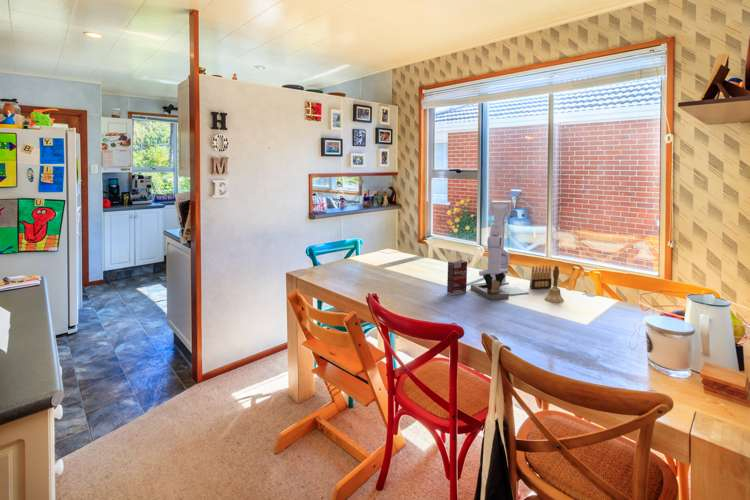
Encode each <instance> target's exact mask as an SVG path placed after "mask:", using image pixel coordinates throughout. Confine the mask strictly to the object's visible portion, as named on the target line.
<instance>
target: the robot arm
mask: <svg viewBox="0 0 750 500" xmlns="http://www.w3.org/2000/svg"><path fill="white" fill-rule="evenodd" d="M511 207H512V201H511V200H491V201H490V202H489V212H490V214H491V216H492V217H493V223H492V224H491V225H490V232H489V236H488V237H487V240H486V241H487V252H488V253H487V254H488V255H487V256H488V257H487V269H485V270H479V271H478V272H479V273H478V276H480V277H482V278H483V280H484V281H485V283H486V285H487V289H488V290H491V283H492V280H497V281H500V287H501V286H502V285H507V284H510V282H509V281H506V280H507V274H509V273H510V269H508V268H507V267H508V266H509V265H510V252H509V250H508V249H506V248H505V233H506V218H507V217H509V216H510V215H511Z"/></svg>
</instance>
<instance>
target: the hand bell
mask: <svg viewBox="0 0 750 500" xmlns="http://www.w3.org/2000/svg"><path fill="white" fill-rule="evenodd" d="M552 277H553V284H552V285H553V286H551V288H550V289H549V290H548V294H547V295H546V296H545V297H543V298H544V300H545V301H546V302H549V303H556V304H557V303H564V302H565V300H564V298H563V297H562V294H561V288H560V287H558V279H559V277H560V269H559V266H558V265H555V266H554V267H553V270H552Z"/></svg>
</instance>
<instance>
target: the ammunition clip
mask: <svg viewBox="0 0 750 500" xmlns="http://www.w3.org/2000/svg"><path fill="white" fill-rule="evenodd" d="M538 266H539V267H538ZM551 287H552V265H551V264H549V266H548V264H547V265H544V264H543V265H542V266H541V265H536V266H534V265H533V266H532V268H531V275H530V282H529V289H530V290H533V291H534V290H547V289H549V290H550V288H551Z"/></svg>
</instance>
